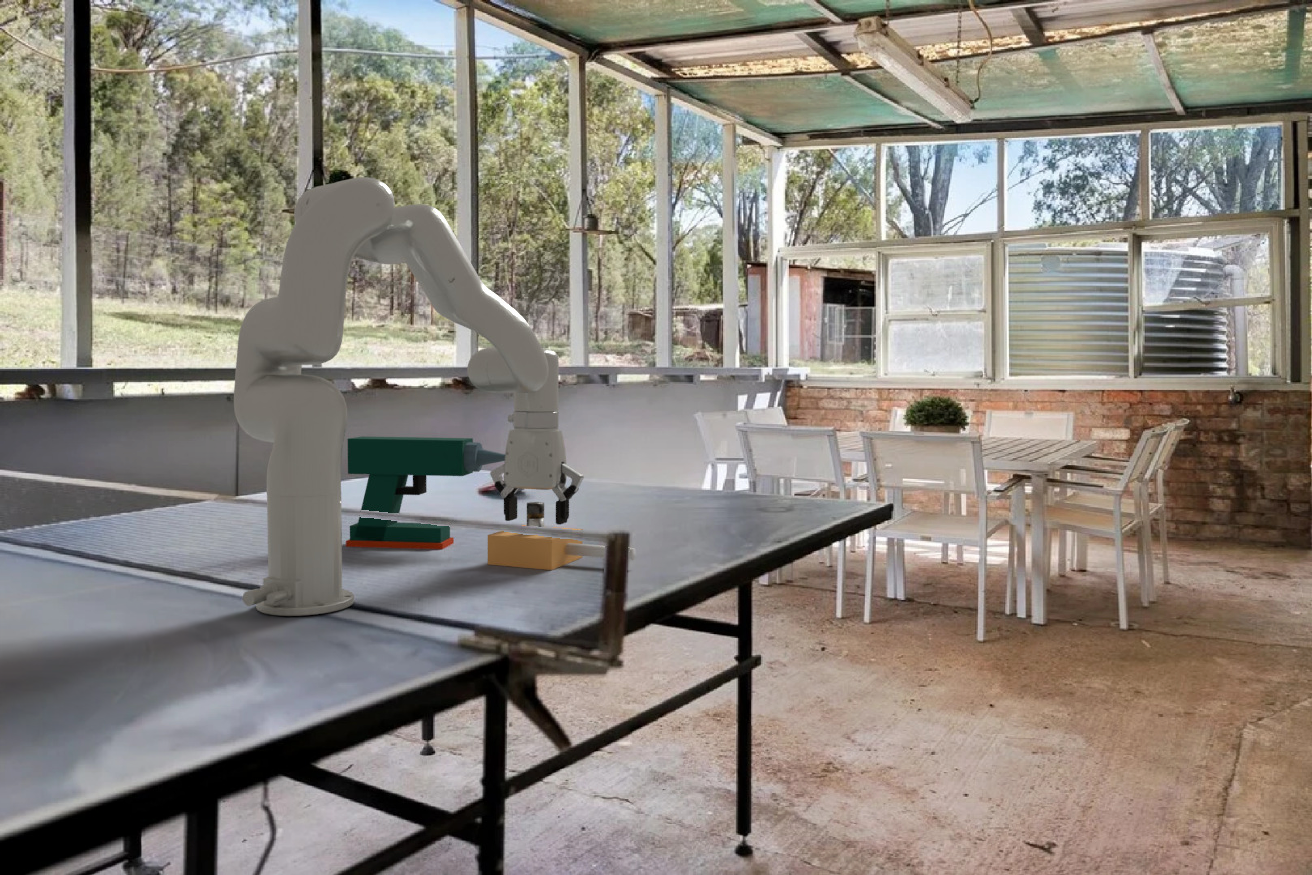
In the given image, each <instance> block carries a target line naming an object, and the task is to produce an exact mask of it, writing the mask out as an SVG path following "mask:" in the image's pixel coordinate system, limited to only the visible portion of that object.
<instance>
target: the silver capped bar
mask: <svg viewBox="0 0 1312 875" xmlns="http://www.w3.org/2000/svg"><path fill="white" fill-rule="evenodd" d="M526 525H527V526H538V527H544V526H545V502H541V501H530V502H526Z"/></svg>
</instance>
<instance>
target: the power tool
mask: <svg viewBox="0 0 1312 875" xmlns="http://www.w3.org/2000/svg"><path fill="white" fill-rule="evenodd" d="M482 445H483V444H482V443H481V442H474V437H473V438H472V437H471V438H468V437H426V436H424V437H423V436H421V437H420V436H419V437H416V436H414V437H413V436H407V437H406V436H357V437H351V438H350V437H349V438H347V474H349V475H368V477H367V478H368V479H367V482H366V486H365V492H364V495H363V500H362V504H361V508H360V511H361V510H369V511H379V512H388V513H399V514H400V512H401V508H402V503H403V498H404V496H407V495H408V496H420V495H423V494H425V493H427V490H428V488H427V476H432V477H433V476H434V477H435V476H436V477H440V476H441V477H442V476H443V477H464V476H467V475H470V474H473V473H474V472H480V471H481V470H482V468H483V466H485V465H486V466H487V465H492V464H496V463H501V462H505V454H504V453H500V452H496V451H491V450H488V449H484V448H483V446H482ZM409 476H412V486H410V485H407V482H408V478H409ZM421 523H422V522H398V521H391V520H381V519H374V518H361V517H359V516H358V520H357V523H354V524H352V525H349V539H347V540H345V547H349V548H378V549H379V548H381V549H382V548H383V549H385V548H388V549H416V550H418V549H419V550H420V549H421V550H423V549H424V550H444V549H446V548H448V547H450V546H451V545H453V544H454V539H455V538H454V537H451V526H450V527H449V526H437V525H431V524H421Z"/></svg>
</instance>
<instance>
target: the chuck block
mask: <svg viewBox="0 0 1312 875" xmlns="http://www.w3.org/2000/svg"><path fill="white" fill-rule="evenodd" d="M521 525H522V526H527V524H521ZM544 527H546V526H545V525H544ZM552 527H553V528H560V526H559V527H557V526H556V527H555V526H552ZM561 528H562V529H572V530H583V528H571V527H561ZM605 546H606V545H597V544H585V543H583V541H578V540H573V539H560V538H552V537H544V536H538V535H523V534H518V533H510V532H504V531H503V530H500V531H497V532H493V533H489V534H487V565H489V566H490V565H491V566H502V567H503V566H504V567H512V568H525V569H536V570H545V571H547V570H549V571H553V570H555V569H557V568H558V569H559V568H560V567H563V566H565V565H567V564H570V563H572V562H574V561H577V560H579V559H582V558H583V557H589V558H600V559H601V558H603V559H605V558H604V556H605ZM629 548H630V552H629V560H628V561H634V560H635V558H636V548H633V547H629Z"/></svg>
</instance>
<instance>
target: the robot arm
mask: <svg viewBox="0 0 1312 875" xmlns="http://www.w3.org/2000/svg"><path fill="white" fill-rule="evenodd" d="M395 205H396V202H395V197H394V194H393V192H392V190H391V189H390V187H389V186H388V185H387V184H386V183H385V182H384V181H381V180H379V179H377V178H373V177H367V176H363V177H362V176H360V177H355V178H354V177H353V178H349V179H345V180H340V181H336V182H334V183H328V184H324V185H318V186H314V187H312V188H310V189H307V190H306V191H305V192H304V193H302V194H300V197H299V198H298V199H297V202H296V204H295V207H294V212H293V214H294V216H293V217H294V221H295V225H294V226H293V228H292V230H291V232H290V234H289V236H288V239H287V242H286V244H285V248H284V253H283V260H282V265H281V266H282V267H281V271H280V279H279V280H280V281H279V287H278V289H279V290H278V294H277V296H276V297H269V298H265V299H263V300H261V301H258V302H257V303H255V304H254V305H253V306H252V307H251V308H250V309H248V311H247V313H246V314H245V316H244V318H243V319H242V321H241V322H242V323H241V325H240V329H239V333H238V340H237V347H236V348H237V349H236V350H237V351H236V362H235V363H236V364H235V377H234V390H233V408H234V409H233V410H234V415H235V418H236V421H237V424H238V426H239V427H240V428H241V430H242V431H243V432H244V433H245V434H247V435H248V436H249V437H251V438H252V439H255V440H258V441H262V442H267V443H273V445H272V449H271V452H270V456H269V460H268V464H267V470H266V514H267V515H266V516H267V519H266V520H267V524H266V525H267V526H266V527H267V569H268V570H267V574H268V576H267V577H262V579H263V580H262V583H263V584H262V585H261V586H260V588H254V589H250V590H247V591H244V593H243V595H242V602H243V603H244V604H245V606H247V607H250V606H255V608H256V611H259V612H260V613H261V614H265V615H272V616H284V617H294V616H295V617H298V616H299V617H300V616H301V617H302V616H311V615H313V616H315V615H319V614H321V615H322V614H327V613H333V612H338V611H342V610H345V609H346V608H348V607H350V606H352V605H353V604H354V602H355V594H354V593H353V592H352V591H350V590H348V589H343V540H342V537H343V536H342V535H343V532H342V530H343V529H342V525H343V524H342V523H343V522H342V518H343V517H342V457H343V456H342V455H343V446H344V440H345V436H346V430H347V425H348V424H347V423H348V408H347V402H346V400H345V397H344V395H343V393H342V391H341V390H340V389H339V387H337V386H336V385H335V383H333V382H331V381H330V380H328V379H326V378H323V377H321V376H317V375H312V374H302V367H303V366H308V365H309V366H313V365H320V364H321V365H322V364H324V363H327V362H329V361H331V360H333V359H334V358H335V357H336V356H337V354H339V351H340V349H341V346H342V343H343V337H344V336H343V335H344V327H345V326H344V324H345V310H346V296H347V287H348V286H347V285H348V279H349V272H350V267H351V264H352V262H353V260H354V258H357V259H361V260H365V261H367V262H372V263H376V264H382V265H399V264H406V266H407V267H408V268H409V270H410V272H411V273H412V275H413V277H414V278H415V280H416V282H417V283H418V285H419V286H420V288H421V289H422V292H423V293H424V295H425V296H426V298H427V299H428V301H429V303H430V304H431V306H432V307H433V310H434V311H436V313H437V314H438V315H440V316H442V317H444V318H445V319H446V320H449V321H450V322H453V323H455V324H458V325H460V326H461V327H463V328H466V329H469V330H470V331H473V332H475V333H476V334H478V335H480V337H483V338H484V339H485V340H487V341H488V343H490V344H491V345H492V346H491V347H490V346H489V347H485V348H482V349H480V350H478V351H476V352H475V353H474V354H473V355H471V357H470V359H469V360H468V364H467V369H466V371H467V376H468V378H469V381H470V382H471V384H472V385H473V386H474V387H476V388H477V389H479V390H480V391H483V392H486V393H493V394H495V393H496V394H507V393H508V394H509V393H510V394H513V399H514V400H513V402H514V403H513V406H514V407H513V411H512V412H513V413H512V414H509V415H507V422H508V423H512V424H513V425H512V427H513V429H510V430H509V431H508V435H507V441H506V446H505V461H504V464H502V465H499V466H498V467H496V468H495V469H493V470H491V471H490V472H489V475H490V478H491V479H492V481H493V483H494V487H495V488H496V489H497V491H498V492H499V493H500V496H501V497H502V498H503V515H504V521H506V522H510V521H513V520H517V518H518V497H517V495H515V494H516V493H517V492H518V490H519V489H524V490H536V491H537V490H539V491H540V490H541V491H549V490H551V491H553V493H554V495H555V496H556V497H557V500H556V502H555V524H556V525H563V524H566V523H568V519H569V518H570V500H571V499H572V497H573V496H574V495H575V494H576V493H577V492H579V489H580V487H581V484H582V483H583V480H584V478H585V477H584V475H583V473H580V472H578V470H576V469H574V468H572V467H571V466H569V465H567V454H566V447H565V440H564V437H563V432H562V429H561V430H559V372H560V371H559V370H560V369H559V368H560V367H559V365H560V363H559V356H558V354H557V352H555V351H554V350H551V349H543V347H542V345H541V343H540V341H539V340H538V338H537V336H536V334H535V332H534V331H533V329H532V327H531V326H530V324H529V323H528V322H527V321H526V319H525V318H524V317H523V316H522V315H521V314H520V313H519V312H518V311H517V310H516V309H515V308H513V307H512V306H511V305H510V304H508V303H507V302H506V301H505V300H504V299H502V298H501V297H500V296H499V295H498V294H496V293H495V292H493V291H492V290H491V289H490V288H488V287H487V285H485V284H484V283H483V281H482V280H481V278H480V276H479V275H478V273H477V271H476V270H475V268H474V266H473V264H472V263H471V261H470V259H469V257H468V255H467V254H466V252H465V250H464V248H463V247H462V245H461V243H460V241H459V239H458V238H457V236H456V235H455V233H454V231H453V229H452V228H451V226H450V224H449V223H448V221H447V219H446V217H445V216H444V215H443V214H442V212H440V211H439V210H438V209H437V208H436V207H434V206H432V205H428V204H423V203H422V204H420V203H418V204H417V203H415V204H407V205H403V206H396V207H395ZM567 477H569V478H570V479H571V483H570V485H569V486H568V487H567V486H566V483H567Z"/></svg>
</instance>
